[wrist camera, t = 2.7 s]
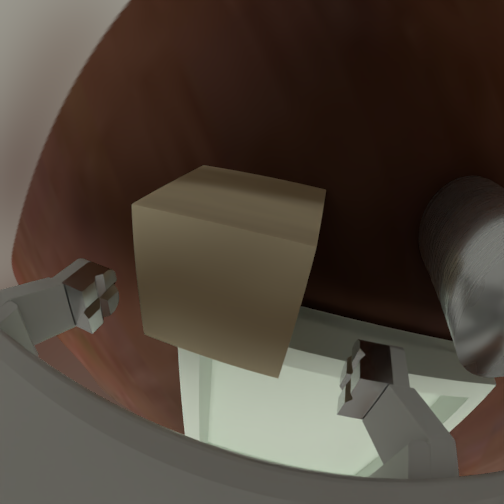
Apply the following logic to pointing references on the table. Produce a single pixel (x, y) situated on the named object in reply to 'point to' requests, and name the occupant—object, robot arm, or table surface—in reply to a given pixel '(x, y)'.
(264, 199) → the beech block
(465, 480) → the robot arm
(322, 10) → the table surface
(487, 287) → the grey rounded cylinder
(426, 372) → the tray
